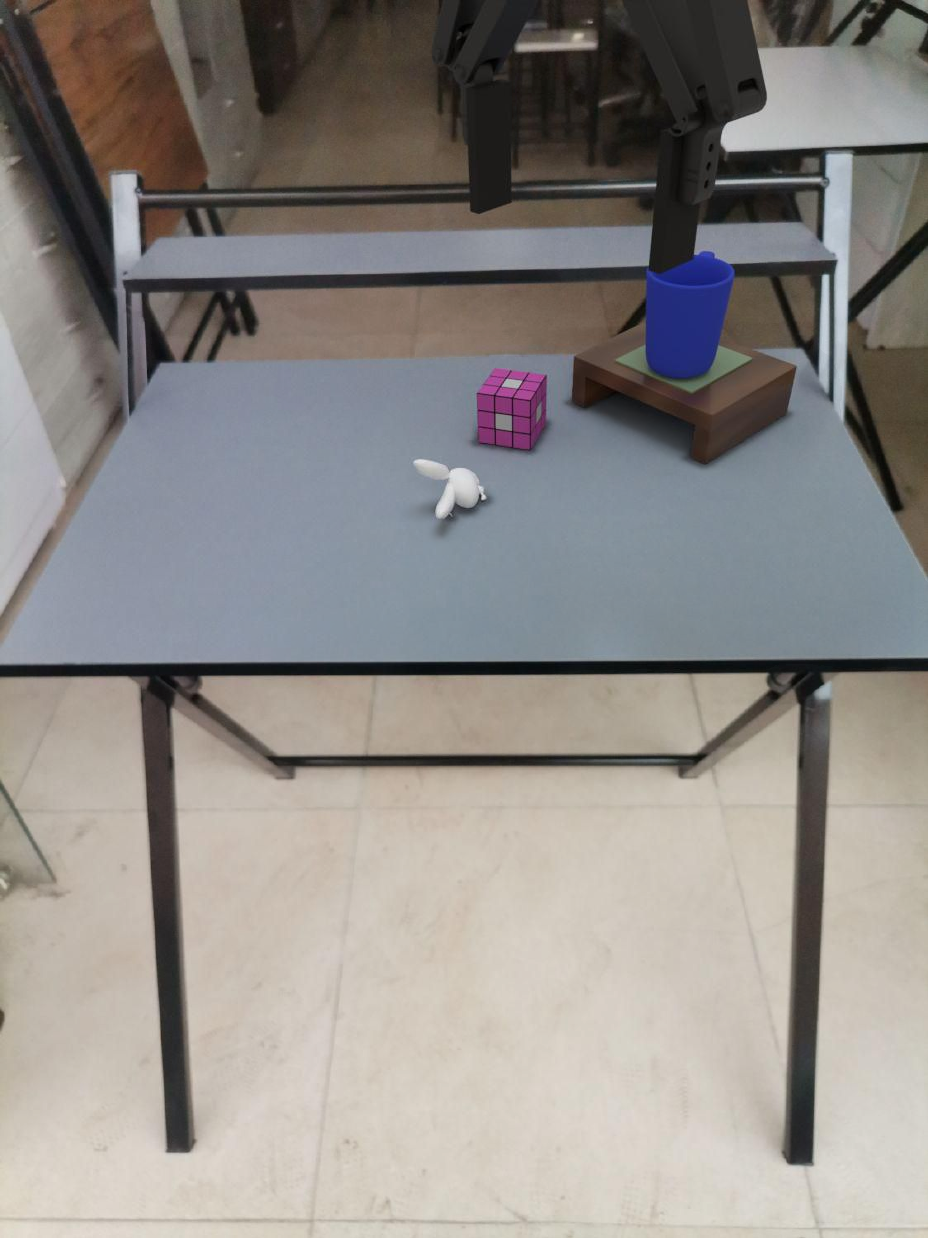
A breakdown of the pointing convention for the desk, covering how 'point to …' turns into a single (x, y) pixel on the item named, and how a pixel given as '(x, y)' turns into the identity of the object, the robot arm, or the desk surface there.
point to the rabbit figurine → (452, 486)
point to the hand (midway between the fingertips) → (574, 234)
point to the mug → (686, 315)
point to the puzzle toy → (512, 408)
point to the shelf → (691, 389)
